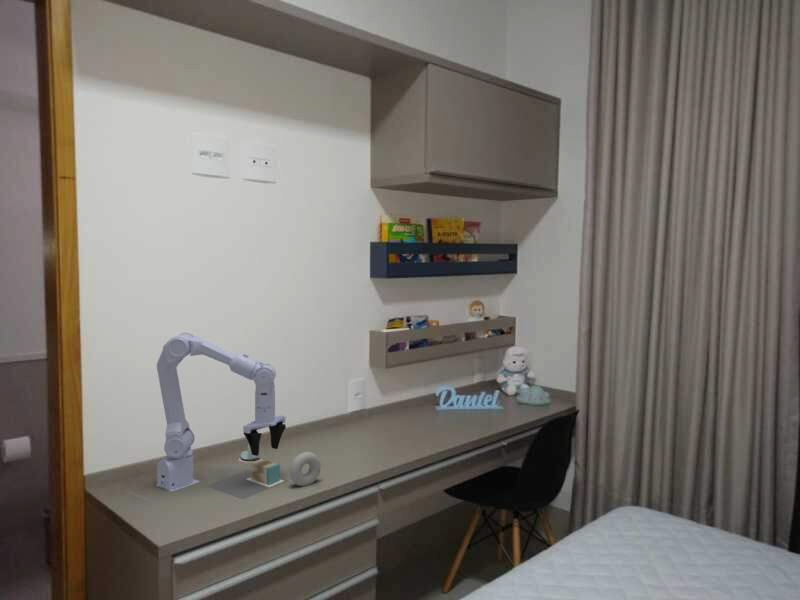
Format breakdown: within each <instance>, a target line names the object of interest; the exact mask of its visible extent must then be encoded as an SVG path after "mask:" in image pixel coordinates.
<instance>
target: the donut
mask: <svg viewBox="0 0 800 600" xmlns="http://www.w3.org/2000/svg"><path fill="white" fill-rule="evenodd" d="M307 464H308V466H309V467H308V471H307V472H306V473H305V474H303V473H302V469H303V467H304V466H305V465H307ZM321 469H322V467H321V461H320V459H319V457H318V455H316V454H315V453H314V452H311V451H303V452H301V453H298V455H296V456H295V457H294V458H293V460H292V461H291V464H290V466H289V477H290V480H291V481H292V483H294V484H295V485H296V486H298V487H299V486H300V487H305V486H309V485H312V484H313V483H314V482H316V480H317V479H318V477H319V476H320V473H321Z"/></svg>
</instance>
